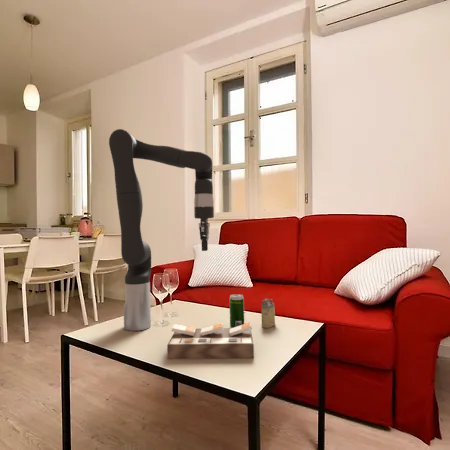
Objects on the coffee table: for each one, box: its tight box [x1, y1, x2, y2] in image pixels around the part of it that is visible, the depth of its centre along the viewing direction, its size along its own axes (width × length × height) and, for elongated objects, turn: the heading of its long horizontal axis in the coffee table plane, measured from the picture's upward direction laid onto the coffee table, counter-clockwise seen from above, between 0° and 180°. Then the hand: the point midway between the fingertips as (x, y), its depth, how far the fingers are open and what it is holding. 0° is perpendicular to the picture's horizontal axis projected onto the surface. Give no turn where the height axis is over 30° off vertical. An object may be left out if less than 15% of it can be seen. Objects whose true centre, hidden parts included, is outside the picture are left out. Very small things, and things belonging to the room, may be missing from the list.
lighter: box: [260, 298, 276, 329], centre depth 117 cm, size 7×4×10 cm, turn 145°
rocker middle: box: [200, 322, 224, 336], centre depth 97 cm, size 7×4×1 cm, turn 89°
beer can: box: [229, 293, 245, 328], centre depth 115 cm, size 5×5×12 cm
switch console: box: [166, 327, 255, 360], centre depth 96 cm, size 25×14×5 cm, turn 88°
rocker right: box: [230, 322, 253, 336], centre depth 97 cm, size 7×4×1 cm, turn 89°
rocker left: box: [171, 323, 197, 336], centre depth 98 cm, size 7×4×1 cm, turn 88°
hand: (204, 250), depth 119 cm, fingers closed
